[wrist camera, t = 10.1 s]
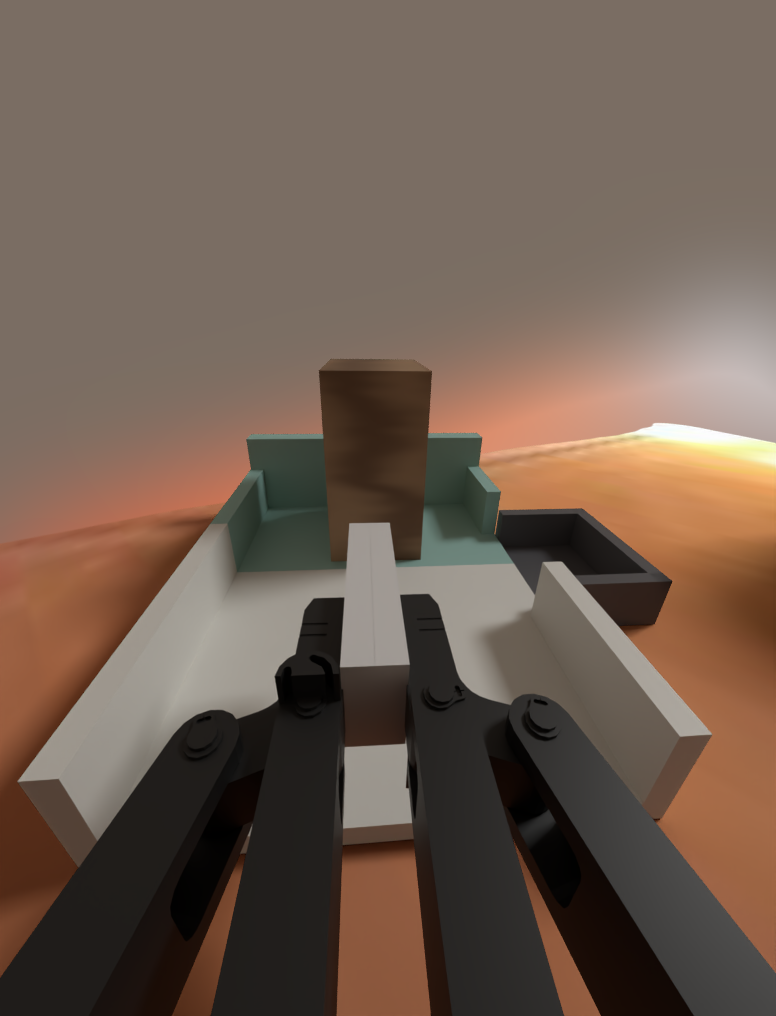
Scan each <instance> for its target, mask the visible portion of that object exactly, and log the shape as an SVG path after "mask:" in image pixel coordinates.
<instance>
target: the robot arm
mask: <svg viewBox="0 0 776 1016" xmlns="http://www.w3.org/2000/svg"><path fill="white" fill-rule="evenodd" d="M274 677H275V683H276V689H277V695H278V700H277V701H276V702H275V703H273V704H272V705H270V706H269V707H267V708H265V709H263V710H261V711H258V712H256V713H253V714H250V715H247V716H244V717H241V718H238V719H236V718H235V717H234V715H233V714H231V713H229V712H227V711H224V710H209V711H206V712H203V713H200V714H197V715H195V716H194V717H192V718H191V719H189V720H188V721H186V722H185V723H183V725H182V726H181V727H180V728H179V729H178V730H177V731H176V732H175V733H174V734H173V736H172V737H171V738H170V740H169V741H168V743H167V744H166V745H165V747H164V748H163V750H162V751H161V753H160V754H159V755H158V757H157V758H156V760H155V761H154V762H153V764H152V765H151V767H150V768H149V769H148V771H147V772H146V774H145V775H144V776H143V778H142V779H141V781H140V782H139V783H138V785H137V786H136V788H135V789H134V790H133V792H132V793H131V795H130V796H129V798H128V799H127V800H126V802H125V803H124V805H123V806H122V807H121V809H120V810H119V812H118V813H117V814H116V816H115V817H114V819H113V820H112V821H111V823H110V824H109V826H108V827H107V828H106V830H105V831H104V833H103V834H102V835H101V837H100V838H99V840H98V841H97V843H96V844H95V845H94V847H93V848H92V850H91V851H90V852H89V854H88V855H87V857H86V858H85V859H84V861H83V862H82V864H81V865H80V866H79V868H78V869H77V871H76V872H75V873H74V875H73V876H72V878H71V879H70V880H69V882H68V883H67V885H66V886H65V888H64V889H63V890H62V892H61V893H60V895H59V896H58V897H57V899H56V900H55V902H54V903H53V904H52V906H51V907H50V909H49V910H48V911H47V913H46V914H45V916H44V917H43V918H42V920H41V921H40V923H39V924H38V925H37V927H36V928H35V930H34V931H33V933H32V934H31V935H30V937H29V938H28V940H27V941H26V942H25V944H24V945H23V947H22V948H21V949H20V951H19V952H18V954H17V955H16V956H15V958H14V959H13V961H12V962H11V963H10V965H9V966H8V968H7V969H6V970H5V972H4V973H3V975H2V976H1V978H0V1016H172V1014H173V1011H174V1009H175V1007H176V1004H177V1002H178V1000H179V997H180V995H181V992H182V990H183V988H184V985H185V983H186V981H187V978H188V976H189V974H190V971H191V969H192V966H193V964H194V962H195V959H196V957H197V955H198V952H199V950H200V947H201V945H202V943H203V940H204V938H205V936H206V933H207V931H208V929H209V926H210V924H211V921H212V919H213V917H214V914H215V912H216V910H217V907H218V905H219V902H220V900H221V898H222V895H223V893H224V891H225V888H226V886H227V884H228V881H229V879H230V876H231V874H232V872H233V869H234V867H235V865H236V862H237V860H238V858H239V855H240V853H241V850H242V848H243V846H244V843H245V841H246V839H247V836H248V834H249V831H250V829H251V827H252V829H251V834H250V839H249V843H248V848H247V852H246V857H245V862H244V866H243V871H242V875H241V880H240V884H239V889H238V894H237V898H236V903H235V907H234V912H233V917H232V921H231V926H230V930H229V935H228V939H227V944H226V949H225V953H224V958H223V962H222V967H221V972H220V976H219V981H218V985H217V990H216V994H215V999H214V1004H213V1008H212V1013H211V1016H336V1014H337V986H338V958H339V930H340V902H341V874H342V846H343V818H344V790H345V763H344V755H345V747H359V746H377V745H396V744H405V743H406V744H407V754H408V758H407V775H406V788H409V796H410V807H411V817H412V827H413V837H414V847H415V857H416V867H417V878H418V888H419V898H420V908H421V918H422V928H423V939H424V949H425V959H426V969H427V979H428V989H429V999H430V1010H431V1016H564V1014H563V1011H562V1007H561V1004H560V1000H559V997H558V993H557V990H556V987H555V983H554V980H553V976H552V973H551V969H550V966H549V963H548V959H547V956H546V952H545V949H544V945H543V942H542V939H541V935H540V932H539V928H538V925H537V921H536V918H535V915H534V911H533V908H532V904H531V901H530V897H529V894H528V891H527V887H526V884H525V880H524V877H523V873H522V870H521V867H520V863H519V860H518V856H517V853H516V849H515V846H514V843H513V839H514V841H515V843H516V845H517V847H518V849H519V851H520V853H521V855H522V857H523V859H524V861H525V863H526V865H527V867H528V869H529V871H530V873H531V875H532V877H533V879H534V881H535V883H536V885H537V887H538V889H539V891H540V893H541V895H542V897H543V899H544V901H545V903H546V906H547V908H548V910H549V912H550V914H551V916H552V918H553V920H554V922H555V924H556V926H557V928H558V930H559V932H560V934H561V936H562V938H563V940H564V942H565V944H566V946H567V948H568V950H569V952H570V954H571V956H572V958H573V960H574V962H575V964H576V966H577V968H578V970H579V972H580V974H581V976H582V978H583V980H584V982H585V984H586V986H587V988H588V990H589V992H590V994H591V996H592V998H593V1000H594V1002H595V1004H596V1006H597V1008H598V1010H599V1012H600V1014H601V1016H776V973H775V972H774V970H773V969H772V968H771V967H770V965H769V964H768V963H767V962H766V960H765V959H764V958H763V957H762V955H761V954H760V953H759V952H758V950H757V949H756V948H755V947H754V945H753V944H752V943H751V942H750V940H749V939H748V938H747V937H746V935H745V934H744V933H743V932H742V930H741V929H740V928H739V927H738V925H737V924H736V923H735V921H734V920H733V919H732V918H731V916H730V915H729V914H728V913H727V911H726V910H725V909H724V908H723V906H722V905H721V904H720V903H719V901H718V900H717V899H716V898H715V896H714V895H713V894H712V893H711V891H710V890H709V889H708V888H707V886H706V885H705V884H704V883H703V881H702V880H701V879H700V878H699V876H698V875H697V874H696V873H695V871H694V870H693V869H692V868H691V866H690V865H689V864H688V863H687V861H686V860H685V859H684V858H683V856H682V855H681V854H680V853H679V851H678V850H677V849H676V848H675V846H674V845H673V844H672V843H671V841H670V840H669V839H668V838H667V836H666V835H665V834H664V833H663V831H662V830H661V829H660V828H659V826H658V825H657V824H656V822H655V821H654V820H653V819H652V817H651V816H650V815H649V814H648V812H647V811H646V810H645V809H644V807H643V806H642V805H641V804H640V802H639V801H638V800H637V799H636V797H635V796H634V795H633V794H632V792H631V791H630V790H629V789H628V787H627V786H626V785H625V784H624V782H623V781H622V780H621V779H620V777H619V776H618V775H617V774H616V772H615V771H614V770H613V769H612V767H611V766H610V765H609V764H608V762H607V761H606V760H605V759H604V757H603V756H602V755H601V754H600V752H599V751H598V750H597V749H596V747H595V746H594V745H593V744H592V742H591V741H590V740H589V739H588V737H587V736H586V735H585V734H584V732H583V731H582V730H581V729H580V727H579V726H578V725H577V723H576V722H575V721H574V720H573V718H572V717H571V716H570V715H569V713H568V712H567V711H565V710H564V709H563V708H562V707H561V706H560V705H559V704H558V703H556V702H555V701H553V700H551V699H549V698H548V697H545V696H541V695H537V694H523V695H521V696H519V697H517V698H516V699H514V700H513V702H512V704H511V705H509V704H505V703H501V702H497V701H493V700H489V699H487V698H484V697H481V696H479V695H477V694H476V693H474V692H472V691H471V690H470V689H469V688H468V687H466V685H465V684H464V683H463V682H462V681H461V679H460V677H459V675H458V673H457V670H456V666H455V662H454V659H453V655H452V652H451V648H450V644H449V641H448V637H447V633H446V631H445V626H444V623H443V620H442V615H441V612H440V608H439V605H438V603H437V602H436V601H435V600H434V599H433V598H432V597H431V596H430V594H404V595H400V592H399V585H398V578H397V571H396V564H395V557H394V550H393V543H392V536H391V529H390V523H349V537H348V553H347V568H346V583H345V597H338V598H314V599H313V600H312V601H311V602H310V604H309V605H308V606H307V607H306V609H305V610H304V615H303V620H302V626H301V629H300V634H299V639H298V644H297V649H296V654H295V655H293V656H291V657H289V658H288V659H286V660H285V661H284V662H283V663H282V664H281V665H280V666H279V668H278V670H277V672H276V674H275V676H274ZM252 824H253V825H252ZM511 835H512V836H511ZM512 837H513V839H512Z"/></svg>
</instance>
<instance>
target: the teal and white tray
mask: <svg viewBox="0 0 776 1016" xmlns="http://www.w3.org/2000/svg"><path fill="white" fill-rule="evenodd" d="M246 440H247V445H248V452H249V459H250V465H251V470H250V471H249V473H248V474H247V475H246V477H245V478H244V479H243V481H242V482H241V483H240V485H239V486H238V488H237V489H236V490H235V492H234V493H233V494H232V495H231V497H230V498H229V499H228V501H227V502H226V503H225V505H224V506H223V507H222V509H221V510H220V511H219V513H218V514H217V515H216V517H215V518H214V519H213V521H212V522H211V523H210V525H209V526H208V528H207V529H206V530H205V532H204V533H203V534H202V536H201V537H200V538H199V540H198V541H197V542H196V544H195V545H194V546H193V548H192V549H191V550H190V552H189V553H188V554H187V556H186V557H185V558H184V560H183V561H182V562H181V564H180V565H179V566H178V568H177V569H176V570H175V572H174V573H173V574H172V576H171V577H170V578H169V580H168V581H167V582H166V584H165V585H164V586H163V588H162V589H161V590H160V592H159V593H158V594H157V596H156V597H155V598H154V600H153V601H152V602H151V604H150V605H149V606H148V608H147V609H146V610H145V612H144V613H143V614H142V616H141V617H140V618H139V620H138V621H137V622H136V624H135V625H134V626H133V628H132V629H131V630H130V632H129V633H128V634H127V636H126V637H125V638H124V640H123V641H122V642H121V644H120V645H119V646H118V648H117V649H116V651H115V652H114V653H113V655H112V656H111V657H110V659H109V660H108V661H107V663H106V664H105V665H104V667H103V668H102V669H101V671H100V672H99V673H98V675H97V676H96V677H95V679H94V680H93V681H92V683H91V684H90V685H89V687H88V688H87V689H86V691H85V692H84V693H83V695H82V696H81V697H80V699H79V700H78V701H77V703H76V704H75V705H74V707H73V708H72V709H71V711H70V712H69V713H68V715H67V716H66V717H65V719H64V720H63V721H62V723H61V724H60V725H59V727H58V728H57V729H56V731H55V732H54V733H53V735H52V736H51V737H50V739H49V740H48V741H47V743H46V744H45V745H44V747H43V748H42V749H41V751H40V752H39V753H38V755H37V756H36V757H35V759H34V760H33V761H32V763H31V764H30V765H29V767H28V768H27V769H26V771H25V772H24V774H23V775H22V776H21V778H20V779H19V780H18V783H19V785H20V786H21V788H22V789H23V790H24V792H25V793H26V795H27V796H28V797H29V799H30V800H31V802H32V803H33V805H34V806H35V807H36V809H37V810H38V812H39V813H40V814H41V816H42V817H43V819H44V820H45V821H46V823H47V824H48V826H49V827H50V829H51V830H52V831H53V833H54V834H55V836H56V837H57V838H58V840H59V841H60V843H61V844H62V845H63V847H64V848H65V850H66V851H67V853H68V854H69V855H70V857H71V858H72V860H73V861H74V862H75V864H76V865H77V867H79V866H80V865H81V864H82V862H83V861H84V859H85V858H86V857H87V855H88V854H89V852H90V851H91V850H92V848H93V847H94V845H95V844H96V843H97V841H98V840H99V838H100V837H101V835H102V834H103V833H104V831H105V830H106V828H107V827H108V826H109V824H110V823H111V821H112V820H113V819H114V817H115V816H116V814H117V813H118V812H119V810H120V809H121V807H122V806H123V805H124V803H125V802H126V800H127V799H128V798H129V796H130V795H131V793H132V792H133V790H134V789H135V788H136V786H137V785H138V783H139V782H140V781H141V779H142V778H143V776H144V775H145V774H146V772H147V771H148V769H149V768H150V767H151V765H152V764H153V762H154V761H155V760H156V758H157V757H158V755H159V754H160V753H161V751H162V750H163V748H164V747H165V745H166V744H167V743H168V741H169V740H170V738H171V737H172V736H173V734H174V733H175V732H176V731H177V730H178V729H179V728H180V727H181V726H182V725H183V723H185V722H186V721H188V720H189V719H191V718H192V717H194V716H195V715H197V714H200V713H203V712H206V711H209V710H224V711H227V712H229V713H231V714H233V715H234V717H235V718H236V719H238V718H241V717H244V716H247V715H250V714H253V713H256V712H258V711H261V710H263V709H265V708H267V707H269V706H270V705H272V704H273V703H275V702H276V701H277V700H278V695H277V689H276V683H275V677H274V676H275V674H276V672H277V670H278V668H279V666H280V665H281V664H282V663H283V662H284V661H285V660H286V659H288V658H289V657H291V656H293V655H295V654H296V649H297V644H298V639H299V634H300V629H301V626H302V620H303V615H304V610H305V609H306V607H307V606H308V605H309V604H310V602H311V601H312V600H313V599H314V598H338V597H345V583H346V568H347V561H334V562H331V552H330V536H329V520H328V504H327V488H326V473H325V457H324V441H323V434H251V435H250V436H249V437H248V438H247V439H246ZM481 443H482V437H481V436H480V435H479V434H477V433H428V445H427V462H426V478H425V495H424V512H423V529H422V546H421V560H395V564H396V571H397V578H398V585H399V592H400V595H404V594H430V596H431V597H432V598H433V599H434V600H435V601H436V602H437V603H438V605H439V608H440V612H441V615H442V620H443V623H444V626H445V631H446V633H447V637H448V641H449V644H450V648H451V652H452V655H453V659H454V662H455V666H456V670H457V673H458V675H459V677H460V679H461V681H462V682H463V683H464V684H465V685H466V687H468V688H469V689H470V690H471V691H472V692H474V693H476V694H477V695H479V696H481V697H484V698H487V699H489V700H493V701H497V702H501V703H505V704H509V705H511V704H512V702H513V700H514V699H516V698H517V697H519V696H521V695H523V694H537V695H541V696H545V697H548V698H549V699H551V700H553V701H555V702H556V703H558V704H559V705H560V706H561V707H562V708H563V709H564V710H565V711H567V712H568V713H569V715H570V716H571V717H572V718H573V720H574V721H575V722H576V723H577V725H578V726H579V727H580V729H581V730H582V731H583V732H584V734H585V735H586V736H587V737H588V739H589V740H590V741H591V742H592V744H593V745H594V746H595V747H596V749H597V750H598V751H599V752H600V754H601V755H602V756H603V757H604V759H605V760H606V761H607V762H608V764H609V765H610V766H611V767H612V769H613V770H614V771H615V772H616V774H617V775H618V776H619V777H620V779H621V780H622V781H623V782H624V784H625V785H626V786H627V787H628V789H629V790H630V791H631V792H632V794H633V795H634V796H635V797H636V799H637V800H638V801H639V802H640V804H641V805H642V806H643V807H644V809H645V810H646V811H647V812H648V814H649V815H650V816H651V817H652V819H659V818H662V817H663V815H664V814H665V812H666V810H667V809H668V807H669V805H670V804H671V802H672V801H673V799H674V797H675V796H676V794H677V792H678V791H679V789H680V787H681V786H682V784H683V782H684V781H685V779H686V777H687V776H688V774H689V772H690V771H691V769H692V767H693V766H694V764H695V762H696V761H697V759H698V757H699V756H700V754H701V752H702V751H703V749H704V748H705V746H706V744H707V743H708V741H709V739H710V738H711V736H712V733H711V732H710V731H709V730H708V729H707V728H706V726H705V725H704V724H703V723H702V722H701V721H700V720H699V718H698V717H697V716H696V715H695V714H694V713H693V712H692V710H691V709H690V708H689V707H688V706H687V705H686V704H685V702H684V701H683V700H682V699H681V698H680V697H679V696H678V694H677V693H676V692H675V691H674V690H673V689H672V687H671V686H670V685H669V684H668V683H667V682H666V681H665V679H664V678H663V677H662V676H661V675H660V674H659V673H658V671H657V670H656V669H655V668H654V667H653V666H652V665H651V663H650V662H649V661H648V660H647V659H646V658H645V657H644V655H643V654H642V653H641V652H640V651H639V650H638V648H637V647H636V646H635V645H634V644H633V643H632V642H631V640H630V639H629V638H628V637H627V636H626V635H625V634H624V632H623V631H622V630H621V629H620V628H619V627H618V626H617V624H616V623H615V622H614V621H613V620H612V619H611V618H610V616H609V615H608V614H607V613H606V612H605V611H604V610H603V608H602V607H601V606H600V605H599V604H598V603H597V601H596V600H595V599H594V598H593V597H592V596H591V595H590V593H589V592H588V591H587V590H586V589H585V588H584V587H583V585H582V584H581V583H580V582H579V581H578V580H577V579H576V577H575V576H574V575H573V574H572V573H571V572H570V571H569V569H568V568H567V567H566V566H565V565H564V564H563V562H543V563H542V567H541V571H540V576H539V580H538V585H537V589H536V593H535V595H534V593H533V592H532V590H531V589H530V587H529V586H528V584H527V583H526V581H525V580H524V578H523V577H522V575H521V574H520V572H519V571H518V569H517V568H516V566H515V564H514V563H513V561H512V560H511V558H510V557H509V555H508V554H507V552H506V551H505V549H504V548H503V546H502V545H501V543H500V542H499V540H498V539H497V537H496V536H495V534H494V532H495V526H496V519H497V513H498V506H499V500H500V493H501V491H500V490H499V489H498V488H497V487H496V486H495V484H494V483H493V482H492V481H491V480H490V479H489V478H488V476H487V475H486V474H485V473H484V472H483V471H482V470H481V468H480V467H479V460H480V452H481ZM407 758H408V754H407V744H406V743H405V744H396V745H377V746H359V747H345V755H344V763H345V790H344V818H343V845H350V844H362V843H374V842H386V841H397V840H409V839H414V837H413V827H412V817H411V807H410V796H409V788H406V775H407ZM252 825H253V824H252ZM251 829H252V827H251ZM251 829H250V831H249V834H248V836H247V839H246V841H245V843H244V846H243V848H242V850H241V853H240V854H243V853H246V852H247V848H248V843H249V839H250V834H251Z"/></svg>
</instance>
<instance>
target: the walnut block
mask: <svg viewBox="0 0 776 1016" xmlns="http://www.w3.org/2000/svg"><path fill="white" fill-rule="evenodd" d="M431 377H432V371H431V370H429V369H428V368H426V367H424V366H423V365H421V364H420V363H418V362H417V361H415V360H389V359H386V360H385V359H383V360H382V359H330V360H329V361H328V362H327V363H326V365H324V366H323V367H322V368H321V369H320V370H319V378H320V393H321V408H322V425H323V441H324V457H325V473H326V488H327V504H328V520H329V536H330V552H331V562H334V561H347V553H348V537H349V523H390V529H391V536H392V543H393V550H394V557H395V560H421V546H422V529H423V512H424V495H425V478H426V462H427V445H428V428H429V426H428V425H429V411H430V394H431V393H430V392H431Z"/></svg>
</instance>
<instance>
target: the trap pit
mask: <svg viewBox="0 0 776 1016" xmlns="http://www.w3.org/2000/svg"><path fill="white" fill-rule="evenodd" d="M495 536H496V537H497V539H498V540H499V542H500V543H501V545H502V546H503V548H504V549H505V551H506V552H507V554H508V555H509V557H510V558H511V560H512V561H513V563H514V564H515V566H516V568H517V569H518V571H519V572H520V574H521V575H522V577H523V578H524V580H525V581H526V583H527V584H528V586H529V587H530V589H531V590H532V592H533V593H534V595H535V593H536V589H537V585H538V580H539V576H540V571H541V567H542V563H543V562H563V564H564V565H565V566H566V567H567V568H568V569H569V571H570V572H571V573H572V574H573V575H574V576H575V577H576V579H577V580H578V581H579V582H580V583H581V584H582V585H583V587H584V588H585V589H586V590H587V591H588V592H589V593H590V595H591V596H592V597H593V598H594V599H595V600H596V601H597V603H598V604H599V605H600V606H601V607H602V608H603V610H604V611H605V612H606V613H607V614H608V615H609V616H610V618H611V619H612V620H613V621H614V622H615V623H616V624H617V626H624V625H646V624H655V622H656V620H657V617H658V615H659V612H660V610H661V608H662V605H663V603H664V600H665V598H666V596H667V593H668V591H669V588H670V586H671V584H672V580H670V579H669V578H668V577H667V576H665V575H664V574H663V573H662V572H660V571H659V570H658V569H657V568H655V567H654V566H653V565H652V564H650V563H649V562H648V561H647V560H645V559H644V558H643V557H642V556H641V555H639V554H638V553H637V552H636V551H634V550H633V549H632V548H631V547H629V546H628V545H627V544H626V543H624V542H623V541H622V540H621V539H619V538H618V537H617V536H616V535H614V534H613V533H612V532H611V531H610V530H608V529H607V528H606V527H605V526H603V525H602V524H601V523H600V522H598V521H597V520H596V519H595V518H593V517H592V516H591V515H590V514H588V513H587V512H586V511H585V510H583V509H537V510H499V515H498V521H497V528H496V534H495Z"/></svg>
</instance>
